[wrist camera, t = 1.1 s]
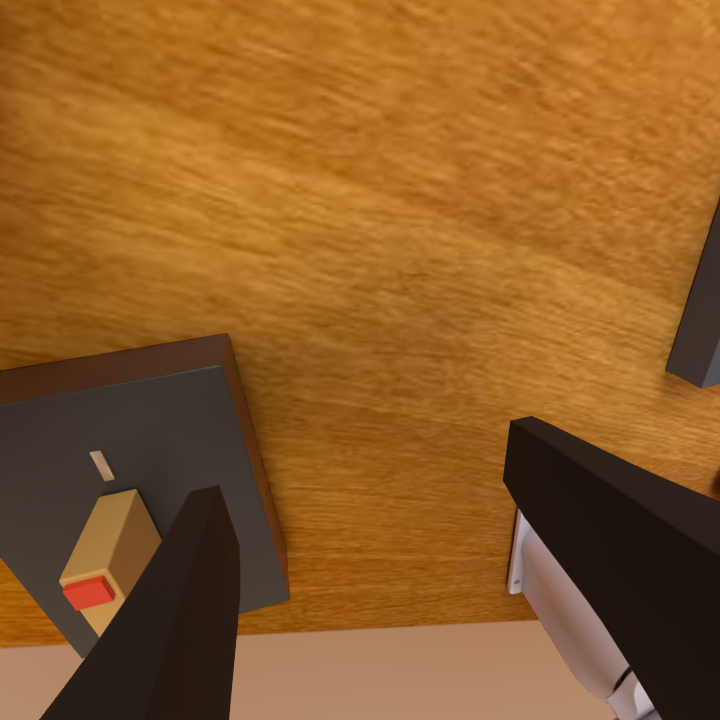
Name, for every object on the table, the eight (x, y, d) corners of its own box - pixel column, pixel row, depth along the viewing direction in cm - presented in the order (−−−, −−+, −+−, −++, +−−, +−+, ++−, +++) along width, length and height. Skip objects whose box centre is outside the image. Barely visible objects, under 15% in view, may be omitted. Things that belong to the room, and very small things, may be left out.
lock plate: (286, 550, 23) (290, 603, 20) (103, 598, 21) (80, 663, 18) (227, 332, 16) (221, 366, 14) (-44, 378, 15) (-113, 427, 12)
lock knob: (176, 569, 17) (158, 662, 14) (143, 577, 17) (116, 674, 14) (137, 487, 15) (103, 576, 12) (98, 496, 15) (53, 589, 12)
